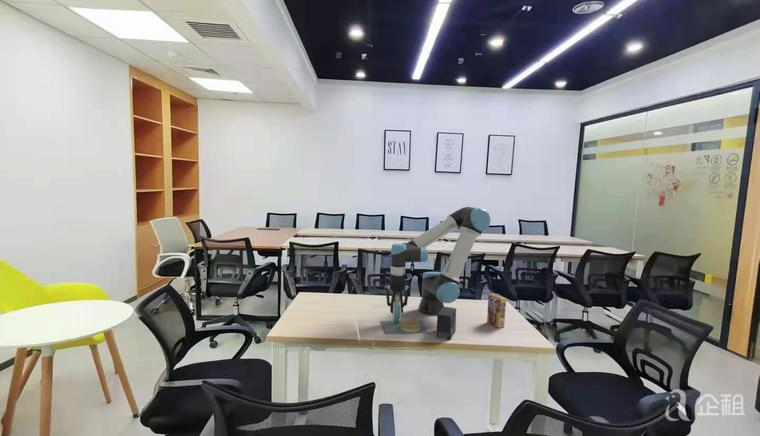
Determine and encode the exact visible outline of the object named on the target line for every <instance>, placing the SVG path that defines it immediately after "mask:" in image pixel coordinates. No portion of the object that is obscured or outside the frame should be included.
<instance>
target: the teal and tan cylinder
mask: <svg viewBox="0 0 760 436" xmlns="http://www.w3.org/2000/svg"><path fill="white" fill-rule="evenodd" d="M393 306H394V307H395V314H394V320H393V321H394V323H396V324H397V323H399V321H400V320H399V307H400V296H399V294H397V295H396V294H395V299H394V305H393Z"/></svg>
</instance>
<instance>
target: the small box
mask: <svg viewBox="0 0 760 436" xmlns="http://www.w3.org/2000/svg"><path fill="white" fill-rule="evenodd" d="M456 322H457V308H455V307H450V306H444V307H443V308H442V309H441V310H440V312H439V313H438V314H437V315H436V338H438V339H442V340H443V339H444V340H447V341H451V340H452V338H453V336H454V334H455V333H456V331H457V330H456V329H457V328H456V327H457V323H456Z"/></svg>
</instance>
